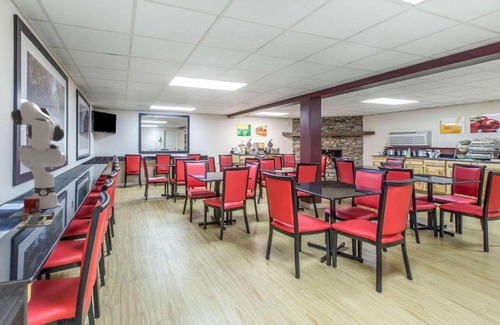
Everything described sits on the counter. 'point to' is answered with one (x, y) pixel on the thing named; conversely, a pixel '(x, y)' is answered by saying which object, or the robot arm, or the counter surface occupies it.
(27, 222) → the lock board
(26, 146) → the robot arm
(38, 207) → the canned food
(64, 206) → the counter surface
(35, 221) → the bar
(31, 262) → the counter surface
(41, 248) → the counter surface
